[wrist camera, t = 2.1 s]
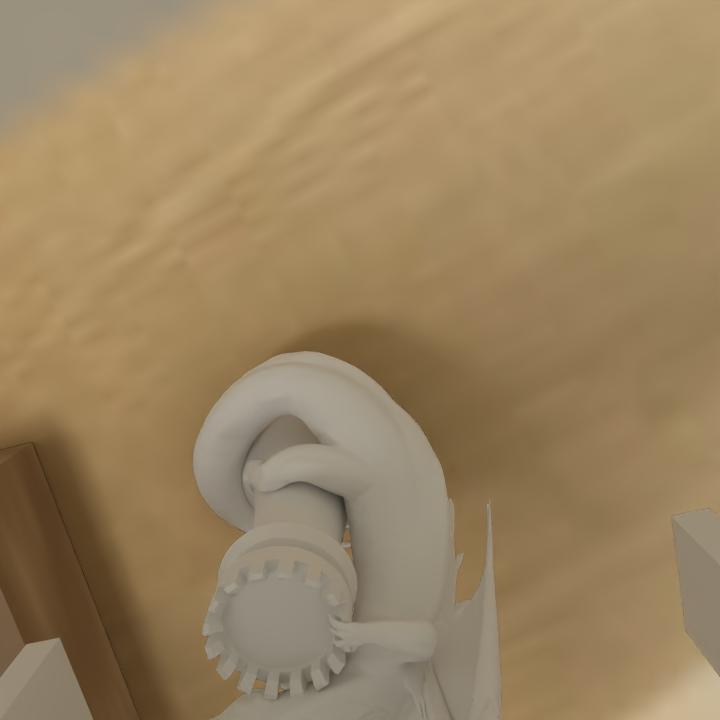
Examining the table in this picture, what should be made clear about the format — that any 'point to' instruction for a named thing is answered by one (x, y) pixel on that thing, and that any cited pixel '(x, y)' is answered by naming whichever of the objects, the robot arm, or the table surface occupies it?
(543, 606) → the table surface
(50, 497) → the wall shelf
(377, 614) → the figurine
